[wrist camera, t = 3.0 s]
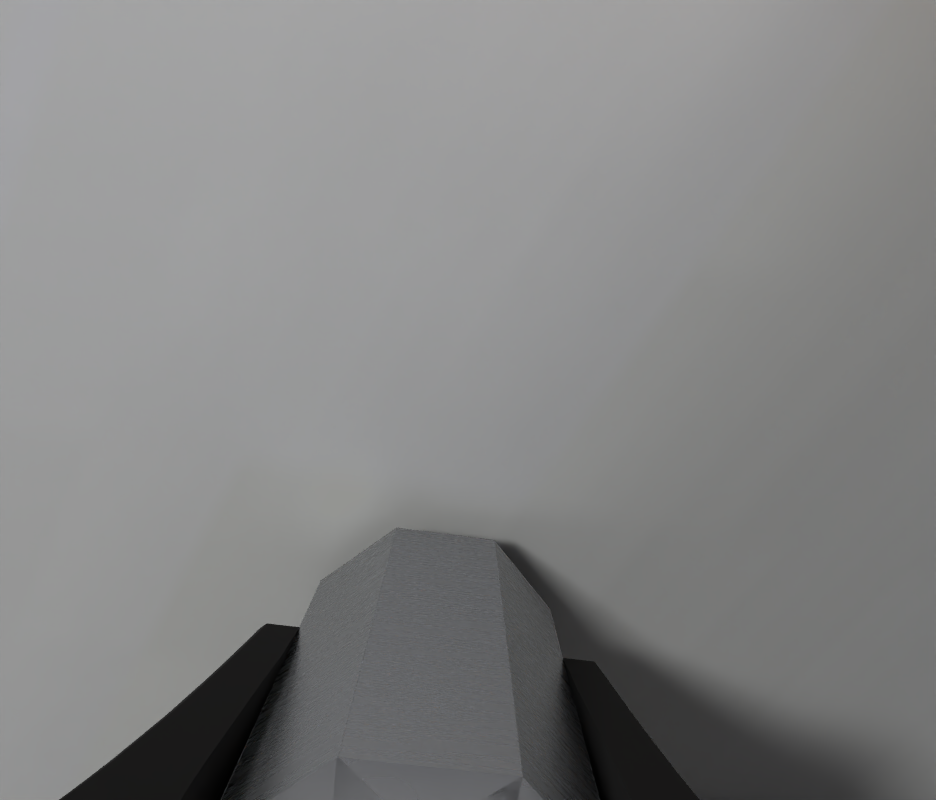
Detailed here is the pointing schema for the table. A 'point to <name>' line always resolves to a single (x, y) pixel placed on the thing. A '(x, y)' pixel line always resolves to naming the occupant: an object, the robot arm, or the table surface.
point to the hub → (420, 686)
